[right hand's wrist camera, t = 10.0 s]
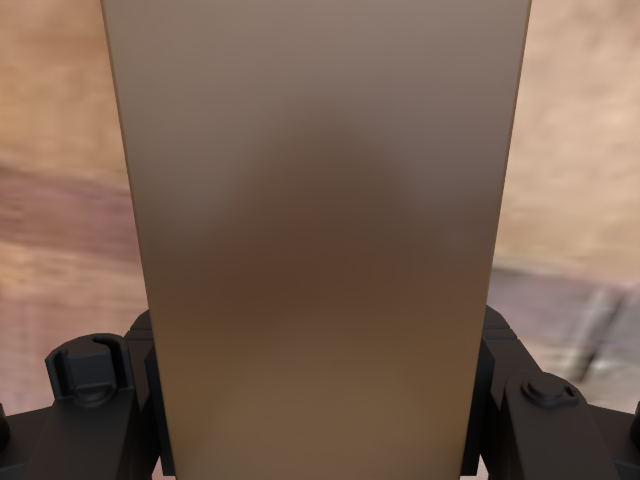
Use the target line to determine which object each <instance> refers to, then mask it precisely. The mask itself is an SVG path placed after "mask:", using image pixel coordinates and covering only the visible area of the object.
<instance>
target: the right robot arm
mask: <svg viewBox="0 0 640 480" xmlns="http://www.w3.org/2000/svg"><path fill="white" fill-rule="evenodd" d="M45 363H46V367H47V371H48V375H49V379H50V382H51V386H52V390H53V394H54V398H55V400H54V403H53V405H52V406H50V407H46V408H43V409H38V410H34V411H29V412H24V413H20V414H15V415H10V416H5V413H4V410H3V406H2V404H1V403H0V480H152V473H153V471H154V468H155V466H156V463H157V461H158V458H159V456H160V459H161V465H162V471H163V476H175V471H174V465H173V458H172V452H171V446H170V439H169V433H168V427H167V420H166V414H165V408H164V401H163V395H162V388H161V382H160V376H159V369H158V363H157V357H156V350H155V344H154V338H153V331H152V325H151V319H150V312H149V309H148V310H147V311H145V312H144V313H142V314H141V315H139V317H138V318H137V319H136V321H135V322H134V323H133V325H132V326H131V328H130V331H128V332H127V333H126V335H125V336H124V337H122V336H120V335H115V334H111V333H95V334H91V335H86V336H81V337H78V338H76V339H73V340H71V341H68V342H65V343H64V344H62V345H61V346H59V347H57V348H56V349H54V350H53V351H52V352H51V353H50V354H49V355H48V356H47V358H46V359H45ZM480 454H481V457H482V459H483V462H484V464H485V466H486V469H487V471H488V474H489V475H488V480H640V401H639V402H638V405H637V408H636V411H635V415H634V414H630V413H625V412H620V411H616V410H611V409H606V408H601V407H597V406H594V405H590V404H587V402H586V400H585V398H584V397H583V395H582V394H581V393H580V391H579V390H578V389H577V388H576V387H574V386H573V385H572V384H570V383H569V382H568V381H566V380H564V379H562V378H560V377H558V376H555V375H553V374H550V373H546V372H542V370H541V369H540V367H539V366H538V365H537V363H536V362H535V360H534V359H533V358H532V356H531V355H530V354H529V352H528V351H527V349H526V348H525V347H524V345H523V344H522V343H521V341H520V340H519V339H517V336H516V334H515V333H514V332H513V330H512V329H510V326H509V325H508V323H507V322H506V321H505V319H504V318H503V316H502V315H501V314H500V313H498V312H497V311H495V310H494V309H492V308H491V307H489V306H488V305H486V308H485V315H484V322H483V328H482V335H481V342H480V348H479V355H478V362H477V368H476V375H475V382H474V388H473V395H472V401H471V408H470V415H469V421H468V428H467V435H466V441H465V448H464V455H463V461H462V468H461V475H460V476H476V475H477V469H478V463H479V457H480Z"/></svg>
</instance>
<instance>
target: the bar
mask: <svg viewBox="0 0 640 480" xmlns="http://www.w3.org/2000/svg"><path fill="white" fill-rule="evenodd" d="M100 1H101V7H102V13H103V20H104V26H105V33H106V39H107V45H108V52H109V58H110V64H111V71H112V77H113V83H114V90H115V96H116V102H117V109H118V115H119V122H120V128H121V134H122V141H123V147H124V153H125V160H126V166H127V172H128V179H129V185H130V191H131V198H132V204H133V211H134V217H135V223H136V230H137V236H138V242H139V249H140V255H141V261H142V268H143V274H144V280H145V287H146V293H147V299H148V306H149V312H150V319H151V325H152V331H153V338H154V344H155V350H156V357H157V363H158V369H159V376H160V382H161V388H162V395H163V401H164V408H165V414H166V420H167V427H168V433H169V439H170V446H171V452H172V458H173V465H174V471H175V477H176V480H460V475H461V468H462V461H463V455H464V448H465V441H466V435H467V428H468V421H469V415H470V408H471V401H472V395H473V388H474V382H475V375H476V368H477V362H478V355H479V348H480V342H481V335H482V328H483V322H484V315H485V308H486V302H487V295H488V288H489V282H490V275H491V269H492V262H493V255H494V249H495V242H496V235H497V229H498V222H499V215H500V209H501V202H502V195H503V189H504V182H505V176H506V169H507V162H508V156H509V149H510V142H511V136H512V129H513V122H514V116H515V109H516V102H517V96H518V89H519V82H520V76H521V69H522V63H523V56H524V49H525V43H526V36H527V29H528V23H529V16H530V9H531V3H532V0H100Z"/></svg>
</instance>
